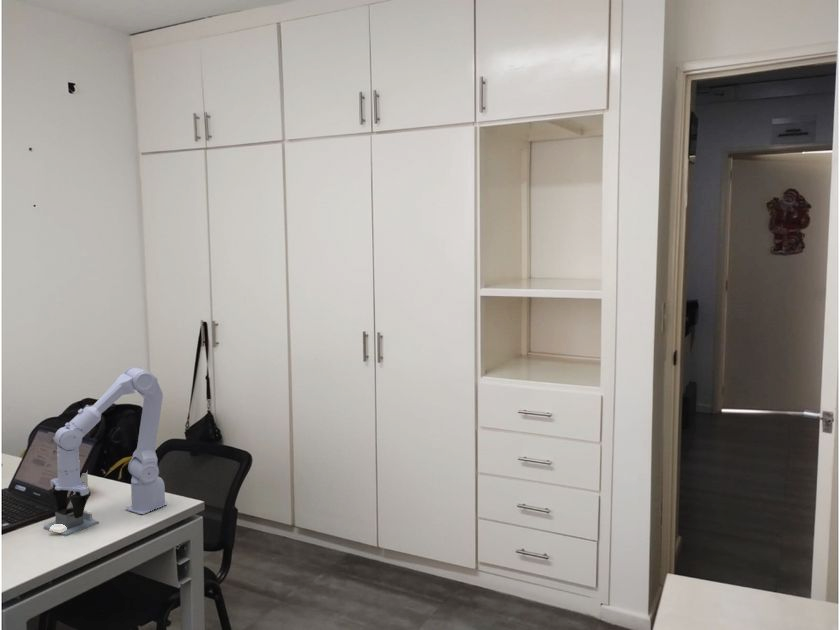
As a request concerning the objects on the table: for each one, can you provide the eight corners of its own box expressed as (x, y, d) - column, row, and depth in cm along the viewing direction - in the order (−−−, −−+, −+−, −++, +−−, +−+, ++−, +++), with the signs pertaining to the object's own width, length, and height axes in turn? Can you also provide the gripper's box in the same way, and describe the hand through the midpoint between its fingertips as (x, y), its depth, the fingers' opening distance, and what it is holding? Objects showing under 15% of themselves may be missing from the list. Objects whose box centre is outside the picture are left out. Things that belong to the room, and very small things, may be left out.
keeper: (77, 516, 210) (76, 504, 210) (98, 523, 205) (98, 511, 205) (43, 528, 201) (43, 516, 200) (65, 536, 196) (65, 524, 196)
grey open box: (72, 519, 206) (72, 506, 206) (83, 523, 204) (83, 510, 203) (55, 525, 202) (55, 512, 201) (67, 529, 199) (66, 516, 199)
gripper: (39, 468, 201) (41, 513, 202) (71, 477, 194) (73, 524, 195) (62, 461, 207) (64, 505, 209) (94, 470, 200) (95, 515, 202)
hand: (70, 514), depth 202 cm, fingers open, 7 cm apart
